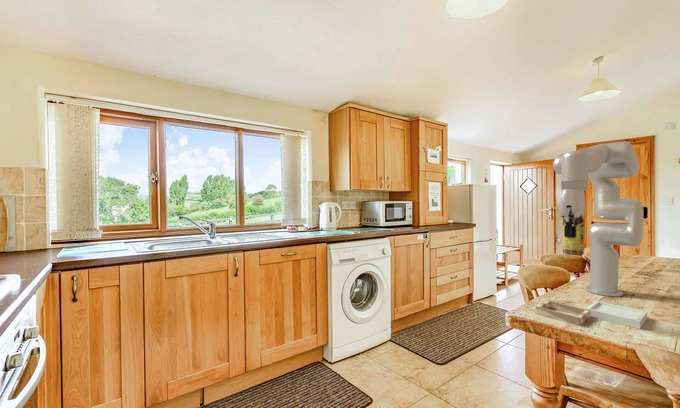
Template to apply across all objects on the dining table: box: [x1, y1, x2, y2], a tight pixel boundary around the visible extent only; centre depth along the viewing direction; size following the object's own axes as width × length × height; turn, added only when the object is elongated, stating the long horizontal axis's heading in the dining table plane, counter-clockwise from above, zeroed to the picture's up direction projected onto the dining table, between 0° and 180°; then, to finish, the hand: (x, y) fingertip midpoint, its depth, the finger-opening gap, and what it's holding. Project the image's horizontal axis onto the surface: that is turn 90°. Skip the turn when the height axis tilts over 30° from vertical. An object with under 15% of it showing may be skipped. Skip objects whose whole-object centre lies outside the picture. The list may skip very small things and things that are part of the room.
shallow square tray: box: [584, 300, 648, 330], centre depth 106 cm, size 14×14×2 cm
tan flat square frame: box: [534, 299, 590, 327], centre depth 107 cm, size 12×13×2 cm
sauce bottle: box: [561, 215, 585, 256], centre depth 106 cm, size 6×6×20 cm
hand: (573, 235), depth 106 cm, fingers closed on sauce bottle, 6 cm apart
